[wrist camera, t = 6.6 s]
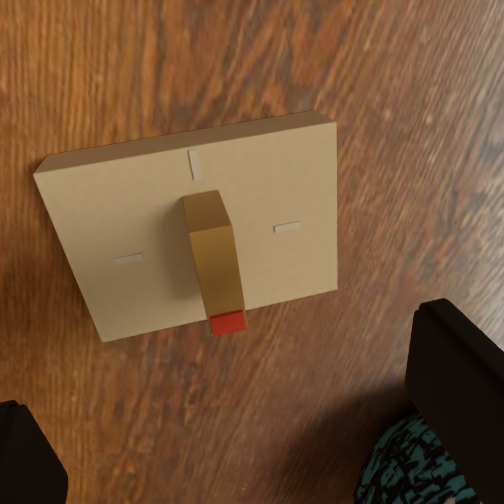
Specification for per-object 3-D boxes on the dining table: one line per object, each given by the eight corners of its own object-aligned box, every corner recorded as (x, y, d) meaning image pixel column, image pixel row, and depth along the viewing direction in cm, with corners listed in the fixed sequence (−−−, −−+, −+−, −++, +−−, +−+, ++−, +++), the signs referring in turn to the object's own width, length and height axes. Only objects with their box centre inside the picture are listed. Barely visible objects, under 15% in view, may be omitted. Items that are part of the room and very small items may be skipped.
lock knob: (181, 196, 19) (188, 236, 16) (218, 189, 20) (233, 227, 16) (202, 288, 22) (211, 340, 19) (234, 281, 22) (249, 331, 19)
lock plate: (106, 310, 25) (101, 345, 23) (46, 154, 20) (30, 175, 17) (320, 264, 27) (339, 291, 24) (315, 109, 22) (338, 121, 19)
